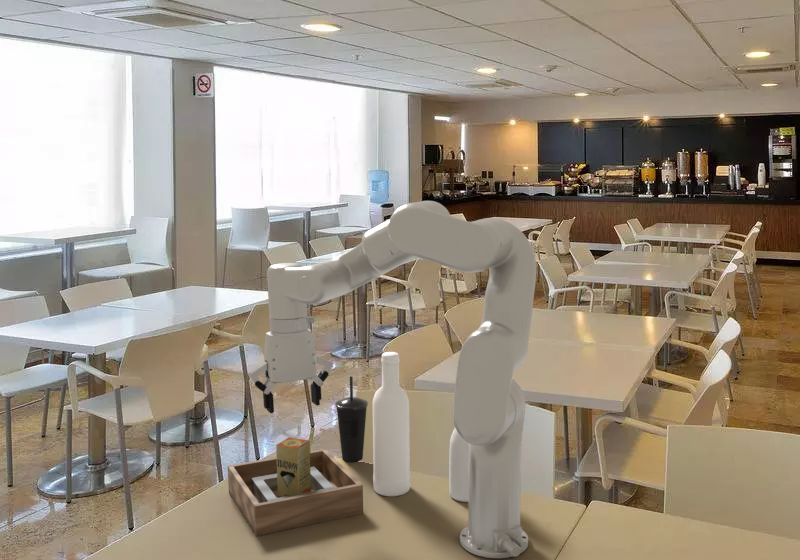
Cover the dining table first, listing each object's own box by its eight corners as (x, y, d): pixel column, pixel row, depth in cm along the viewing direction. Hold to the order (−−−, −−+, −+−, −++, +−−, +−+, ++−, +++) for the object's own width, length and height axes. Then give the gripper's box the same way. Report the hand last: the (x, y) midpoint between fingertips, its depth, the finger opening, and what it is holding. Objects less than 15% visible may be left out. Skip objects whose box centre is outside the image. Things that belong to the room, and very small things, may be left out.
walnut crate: (363, 513, 159) (362, 484, 158) (256, 536, 150) (255, 506, 149) (325, 474, 179) (325, 448, 178) (228, 492, 170) (227, 465, 169)
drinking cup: (374, 456, 189) (373, 375, 186) (356, 467, 183) (355, 383, 180) (348, 450, 193) (347, 370, 190) (330, 460, 187) (328, 378, 184)
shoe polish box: (298, 504, 161) (297, 448, 159) (278, 500, 163) (276, 445, 161) (311, 495, 166) (309, 440, 164) (290, 491, 168) (288, 437, 166)
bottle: (367, 493, 169) (364, 356, 164) (382, 479, 176) (380, 347, 171) (401, 499, 166) (400, 359, 161) (415, 485, 173) (415, 351, 168)
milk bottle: (473, 506, 162) (474, 412, 159) (442, 497, 167) (442, 405, 163) (492, 493, 168) (493, 402, 165) (461, 484, 173) (462, 396, 170)
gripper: (323, 317, 166) (326, 396, 168) (241, 326, 158) (246, 409, 161) (336, 323, 159) (339, 405, 161) (251, 333, 152) (256, 419, 154)
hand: (293, 407), depth 161 cm, fingers open, 9 cm apart
